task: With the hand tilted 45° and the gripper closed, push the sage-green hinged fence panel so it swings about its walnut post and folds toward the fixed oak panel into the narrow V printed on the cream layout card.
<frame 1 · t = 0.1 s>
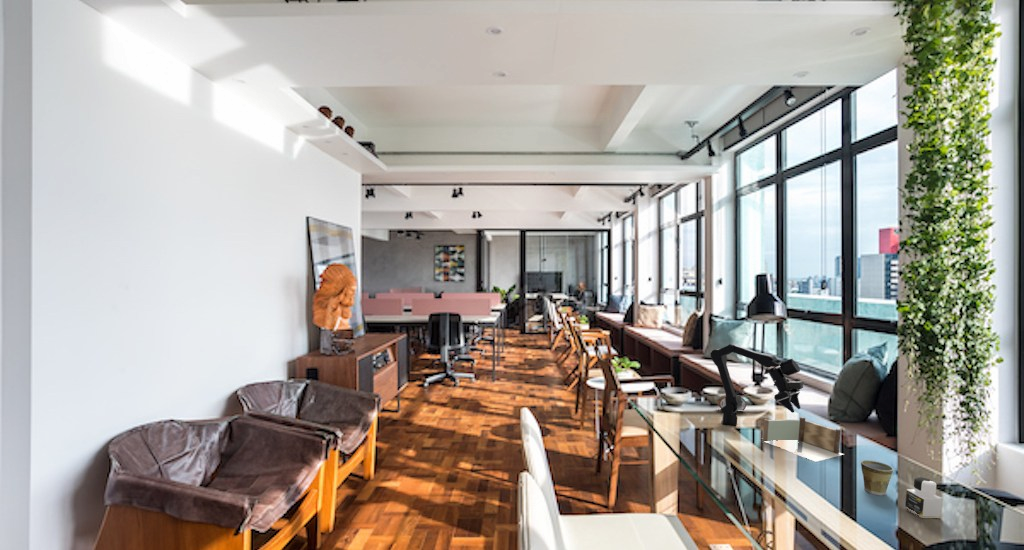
hand: (796, 410, 250), 15 cm above the table, tool tilted 35°, fingers open, 9 cm apart
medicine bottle: (922, 514, 182), on the table
ceramic cup: (874, 490, 200), on the table
tin: (731, 411, 298), on the table
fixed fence: (800, 440, 252), resting on layout card
layout card: (799, 447, 243), on the table
folding panel: (781, 430, 249), point 6 cm above the table, hinge at -18.4°
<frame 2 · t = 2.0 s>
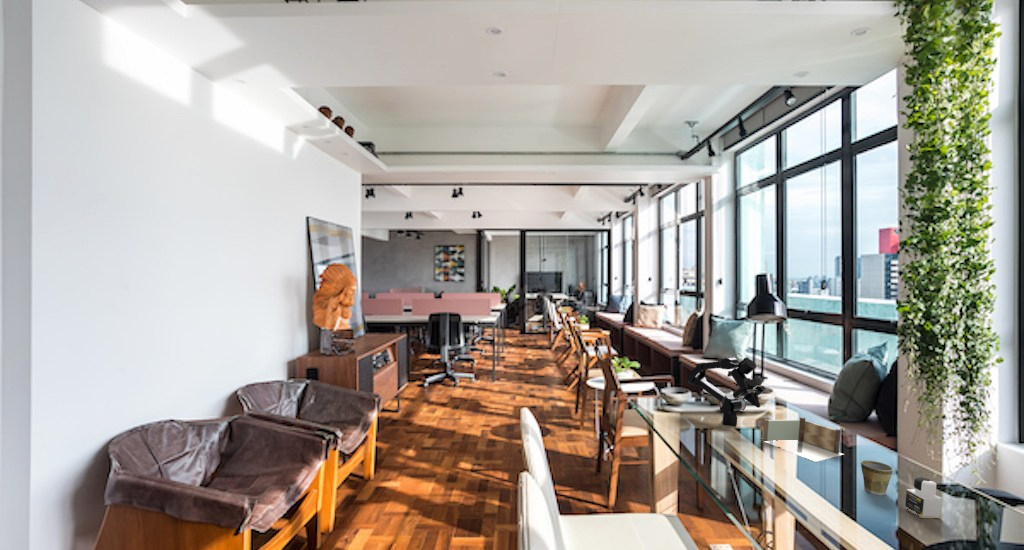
hand: (759, 407, 258), 14 cm above the table, tool tilted 45°, fingers closed
nothing on the table moved.
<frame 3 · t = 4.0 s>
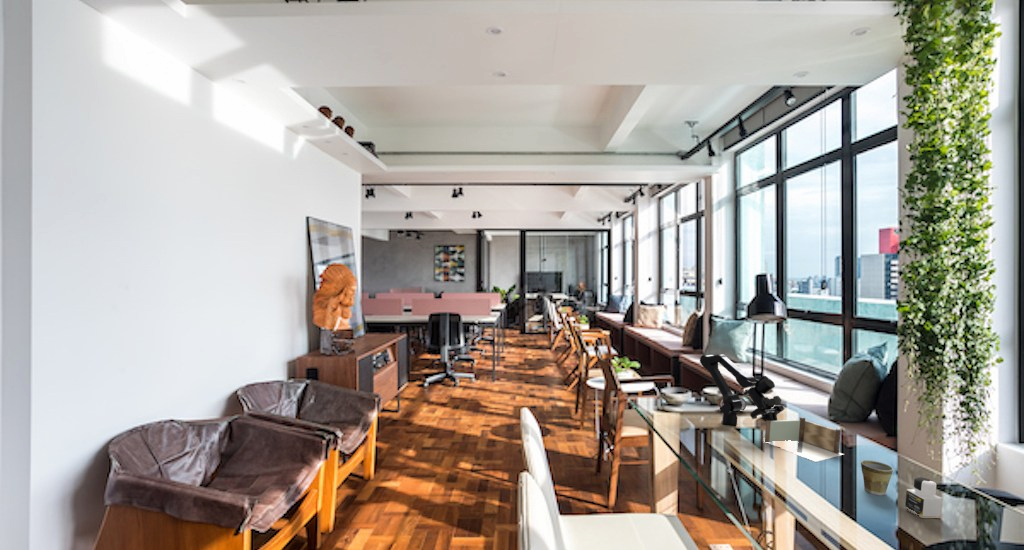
hand: (778, 428, 249), 7 cm above the table, tool tilted 45°, fingers closed
folding panel: (782, 430, 248), point 6 cm above the table, hinge at -14.3°, touching gripper
everything else where it was.
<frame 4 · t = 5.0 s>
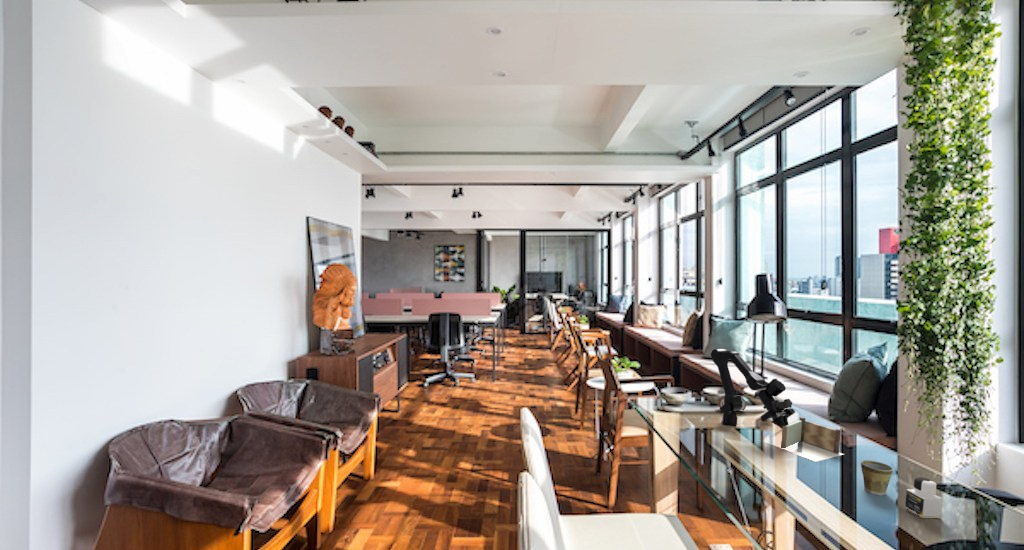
hand: (788, 431, 244), 7 cm above the table, tool tilted 45°, fingers closed
folding panel: (791, 434, 244), point 6 cm above the table, hinge at 10.6°, touching gripper
everything else where it was.
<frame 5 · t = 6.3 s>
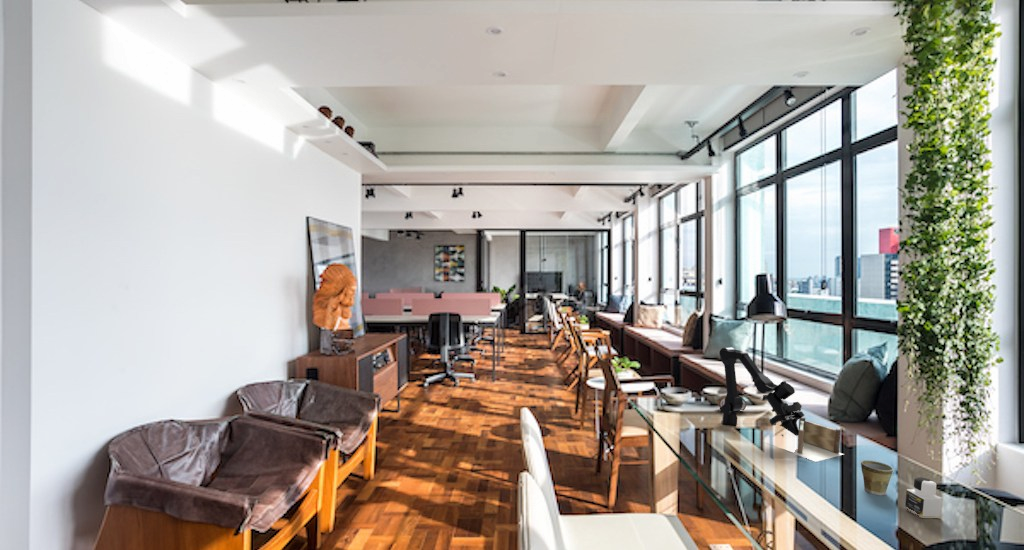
hand: (798, 435, 240), 6 cm above the table, tool tilted 45°, fingers closed
folding panel: (801, 436, 242), point 6 cm above the table, hinge at 30.5°, touching gripper
everything else where it was.
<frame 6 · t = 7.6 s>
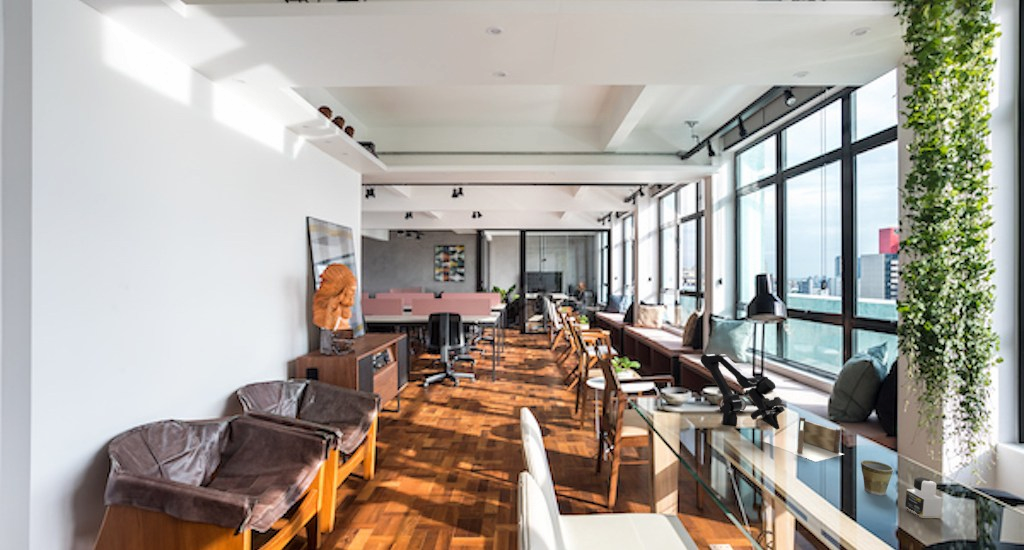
hand: (778, 429, 249), 6 cm above the table, tool tilted 45°, fingers closed
folding panel: (801, 436, 242), point 6 cm above the table, hinge at 30.5°
everything else where it was.
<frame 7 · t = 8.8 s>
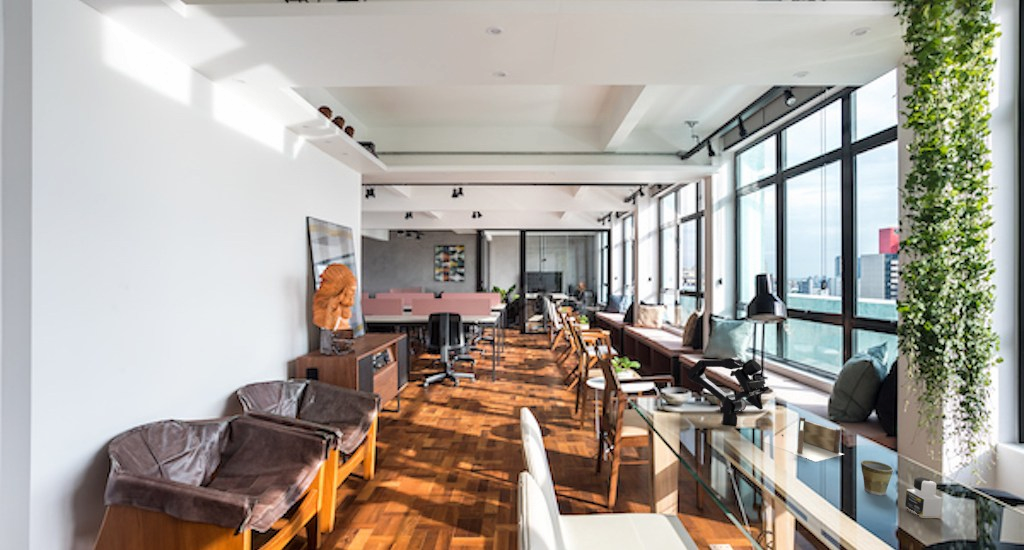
hand: (761, 409, 258), 13 cm above the table, tool tilted 40°, fingers closed
nothing on the table moved.
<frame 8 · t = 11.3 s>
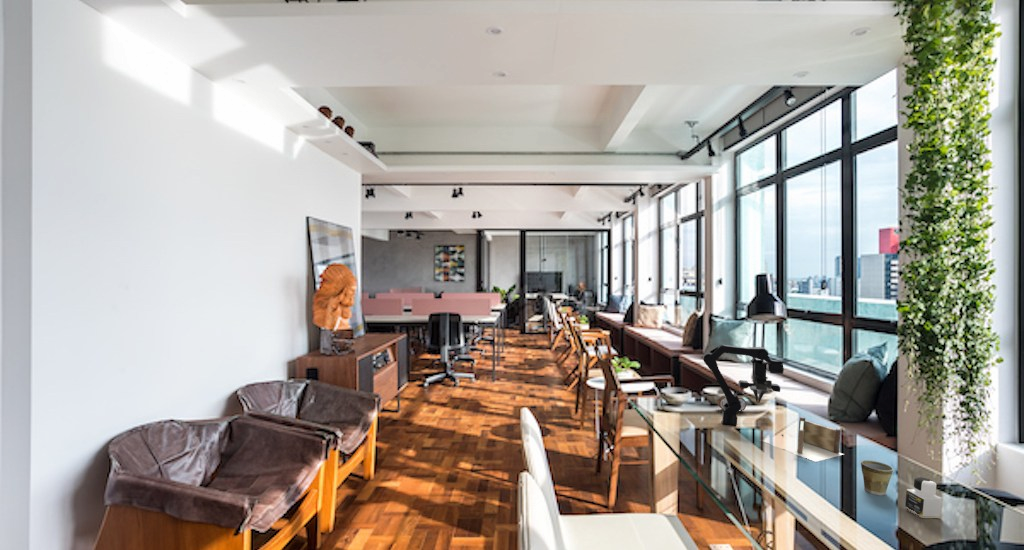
hand: (757, 402, 269), 13 cm above the table, tool pointing down, fingers closed
nothing on the table moved.
at the end: folding panel at +30° (first picture: -18°) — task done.
